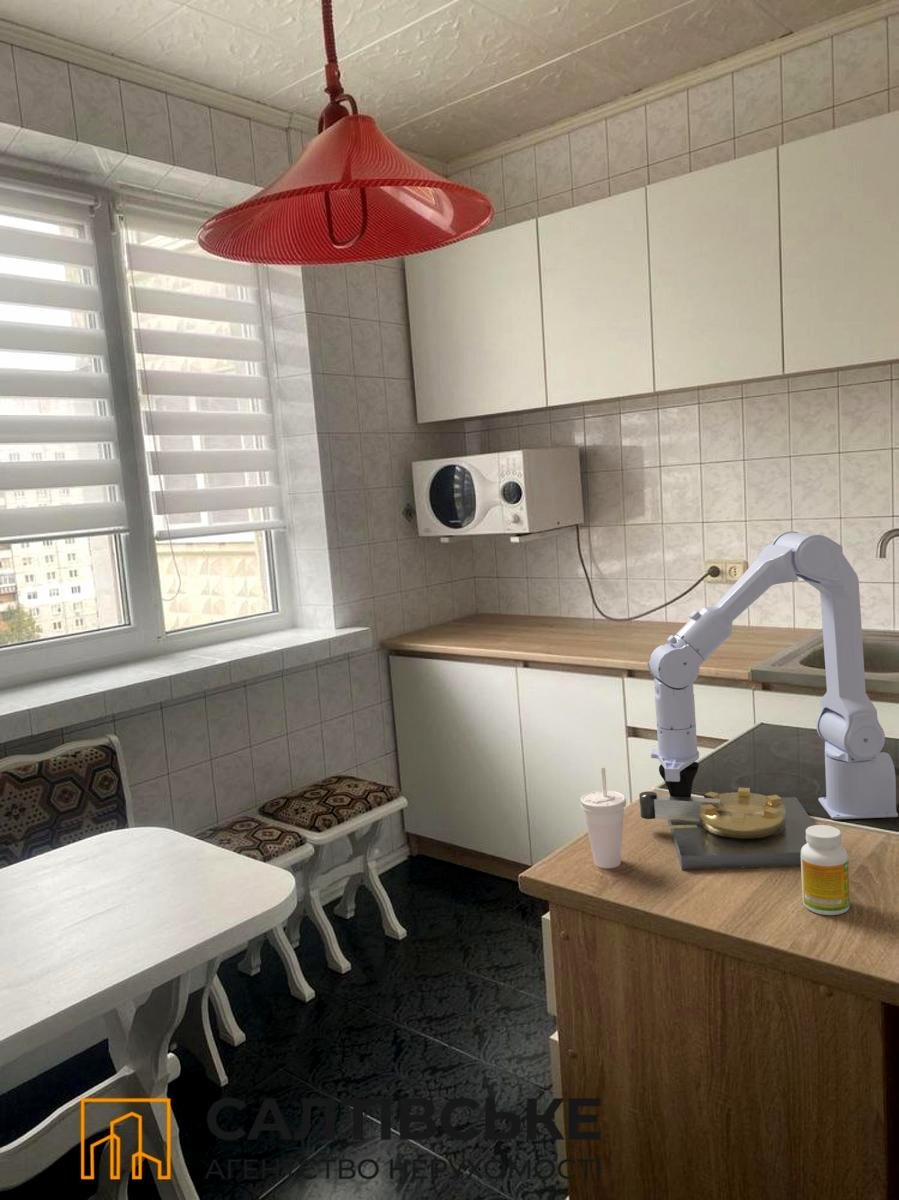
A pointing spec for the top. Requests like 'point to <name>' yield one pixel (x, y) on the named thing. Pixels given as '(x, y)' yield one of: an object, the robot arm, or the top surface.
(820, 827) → the supplement bottle
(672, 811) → the brass crank disc
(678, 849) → the plate
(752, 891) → the top surface
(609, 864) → the smoothie
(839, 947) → the top surface
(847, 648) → the robot arm
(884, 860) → the top surface
